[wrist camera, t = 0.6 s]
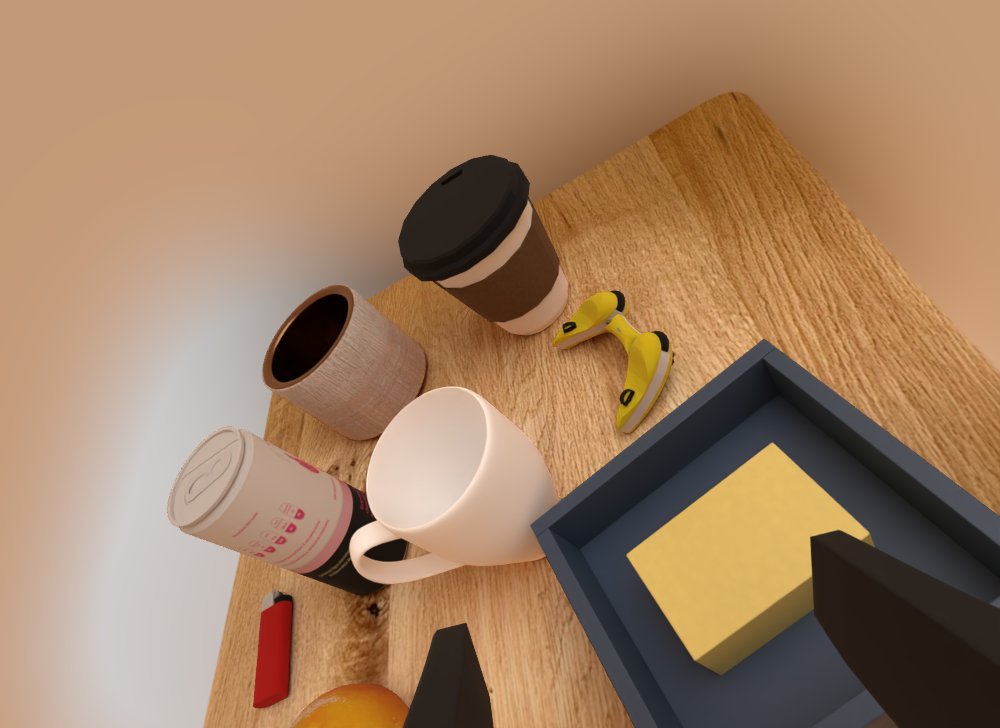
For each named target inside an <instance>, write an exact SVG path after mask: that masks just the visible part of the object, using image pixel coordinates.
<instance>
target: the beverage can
mask: <svg viewBox="0 0 1000 728" xmlns="http://www.w3.org/2000/svg"><path fill="white" fill-rule="evenodd" d="M167 513H168V518H169V520H170V522H171V523H172V524H173V525H175V526H177V527H179V528H180V529H181V531H183V532H184V533H187V534H189V535H192V536H195V537H198V538H200V539H203V540H206V541H209V542H212V543H215V544H218V545H220V546H223V547H226V548H228V549H231V550H234V551H237V552H240V553H242V554H245V555H248V556H251V557H253V558H256V559H259V560H262V561H265V562H267V563H270V564H273V565H276V566H279V567H281V568H284V569H287V570H290V571H292V572H295V573H298V574H301V575H304V576H306V577H309V578H312V579H315V580H318V581H320V582H323V583H326V584H329V585H332V586H334V587H337V588H340V589H343V590H346V591H348V592H351V593H354V594H357V595H369V594H372V593H375V592H377V591H378V590H380V589H381V588H383V587H384V586H385V585H386V584H382V583H377V582H374V581H371V580H369V579H366V578H365V577H363V576H362V575H361V574H360V573H359V572H358V571H357V570H356V568H355V567H354V565H353V562H352V560H351V556H350V548H349V546H350V541H351V538H352V536H353V535H354V533H355V532H356V531H357V530H359V529H360V528H361V527H363V526H365V525H367V524H369V523H372V522H374V521H377V519H376V518H375V517H374V515H373V513H372V511H371V509H370V507H369V503H368V499H367V494H365V493H363V492H361V491H360V490H358V489H356V488H354V487H352V486H350V485H348V484H346V483H344V482H343V481H341V480H339V479H337V478H335V477H333V476H331V475H329V474H328V473H326V472H324V471H322V470H320V469H318V468H316V467H314V466H312V465H311V464H309V463H307V462H305V461H303V460H301V459H299V458H297V457H295V456H294V455H292V454H290V453H288V452H286V451H284V450H282V449H280V448H278V447H277V446H275V445H273V444H271V443H269V442H267V441H265V440H263V439H262V438H260V437H258V436H256V435H254V434H252V433H250V432H248V431H246V430H243V429H236V428H234V427H224V428H221V429H219V430H217V431H215V432H213V433H212V434H211V435H209V436H208V437H207V438H206V439H205V440H203V442H201V443H200V444H199V445H198V447H197V448H196V449H195V450H194V451H193V452H192V454H191V455H190V456H189V458H188V459H187V460H186V462H185V463H184V465H183V467H182V468H181V470H180V472H179V474H178V476H177V478H176V480H175V482H174V484H173V487H172V489H171V492H170V496H169V501H168V508H167ZM407 545H408V541H406V540H404V539H402V538H400V539H396V540H392V541H389V542H385V543H382V544H379V545H377V546H374V547H372V548H370V549H369V550H367V551H366V552H365V553H364V554H363V555H364V556H366V557H368V558H370V559H373V560H376V561H382V562H395V561H402V560H404V557H405V554H406V551H407Z"/></svg>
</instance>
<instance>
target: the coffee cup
mask: <svg viewBox="0 0 1000 728" xmlns="http://www.w3.org/2000/svg"><path fill="white" fill-rule="evenodd" d="M529 184H530V183H529V181H528V179H527V178H526V176H525V174H524V173H523V171H522V169H521V168H520V167H519V165H518V164H516V163H513V162H509V161H508V160H507V159H505V158H501V157H497V156H494V155H488V156H483V157H478V158H473V159H471V160H468V161H467V162H465V163H462V164H461V165H459V166H457V167H455V168H453V169H451V170H450V171H448V172H447V173H446V174H445V175H443V176H442V177H441V178H439V179H438V180H437V181H436V182H434V183H433V184H432V185H431V186H430V187H429V188H428V189H427V190H426V191H425V192H424V194H423V195H422V196H421V197H420V198H419V199H418V200H417V201H416V202H415V204H414V206H413V207H412V209H411V211H410V212H409V214H408V215H407V217H406V219H405V220H404V223H403V226H402V230H401V233H400V236H399V241H398V242H399V247H400V252H401V256H402V257H403V262H404V267H405V268H406V269H407V270H408V271H409V272H410V273H411V274H413V275H414V276H415V277H417V278H418V279H419V280H421V281H433V282H434V283H436V284H437V285H438V286H440V287H441V288H443V289H444V290H446V291H447V292H448V293H450V294H451V295H453V296H454V297H455V298H457V299H458V300H460V301H461V302H463V303H464V304H465V305H467V306H468V307H470V308H471V309H473V310H474V311H475V312H477V313H478V314H480V315H481V316H483V317H484V318H485V319H487V320H488V321H490V322H495V323H496V324H498V325H499V326H501V327H502V328H503V329H505V330H506V331H508V332H509V333H512V334H517V335H532V334H535V333H538V332H541V331H543V330H544V329H546V328H547V327H549V326H550V325H552V324H553V323H554V322H555V321H556V319H557V318H558V317H559V316H560V315H561V314H562V312H563V310H564V308H565V306H566V304H567V302H568V282H567V280H566V278H565V275H564V273H563V271H562V269H561V267H560V265H559V262H560V260H559V258H558V256H557V254H556V252H555V249H554V247H553V245H552V243H551V241H550V239H549V237H548V235H547V233H546V231H545V229H544V227H543V224H542V222H541V220H540V218H539V216H538V214H537V212H536V210H535V208H534V206H533V204H532V203H531V201H530V199H529V197H528V194H529Z"/></svg>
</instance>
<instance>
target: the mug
mask: <svg viewBox="0 0 1000 728" xmlns="http://www.w3.org/2000/svg"><path fill="white" fill-rule="evenodd" d="M366 493H367V499H368V503H369V507H370V509H371V511H372V513H373V515H374V517H375V518H376V519H377V521H374V522H372V523H369V524H367V525H365V526H363V527H361V528H360V529H359V530H357V531H356V532H355V533H354V535H353V536H352V538H351V541H350V546H349V548H350V556H351V560H352V562H353V565H354V567H355V568H356V570H357V571H358V572H359V573H360V574H361V575H362V576H363V577H365V578H366V579H369V580H371V581H374V582H377V583H382V584H400V583H406V582H411V581H416V580H419V579H423V578H427V577H430V576H433V575H437V574H440V573H443V572H446V571H449V570H452V569H455V568H458V567H461V566H464V565H473V566H495V565H504V564H512V563H520V562H528V561H535V560H539V559H541V558H544V557H545V556H546V555H545V554H544V552H543V550H542V548H541V546H540V544H539V542H538V540H537V537H536V536H535V534H534V532H533V530H532V528H531V526H530V525H531V524H532V523H533V522H534V521H536V520H537V519H538V518H539V517H541V516H542V515H543V514H545V513H546V512H547V511H548V510H550V509H551V508H552V507H553V506H555V505H556V504H557V503H558V502H560V501H559V498H558V495H557V492H556V489H555V486H554V483H553V480H552V477H551V475H550V472H549V470H548V467H547V465H546V463H545V461H544V459H543V457H542V455H541V454H540V452H539V451H538V449H537V448H536V446H535V445H534V444H533V443H532V441H531V440H530V439H529V438H528V437H527V436H526V435H525V434H524V433H523V432H522V431H521V430H520V429H519V428H518V427H517V426H516V425H515V424H513V423H512V422H511V421H510V420H509V419H508V418H506V417H505V416H504V415H503V414H502V413H501V412H499V411H498V410H497V409H496V408H495V407H494V406H492V405H491V404H490V403H489V402H488V401H486V400H485V399H484V398H483V397H481V396H480V395H478V394H477V393H475V392H473V391H471V390H468V389H466V388H462V387H442V388H438V389H435V390H432V391H429V392H427V393H425V394H423V395H421V396H419V397H418V398H416V399H415V400H413V401H412V402H410V403H409V404H408V405H407V406H406V407H404V408H403V409H402V410H401V411H400V412H399V413H398V414H397V415H396V416H395V417H394V419H393V420H392V421H391V422H390V424H389V425H388V426H387V428H386V429H385V431H384V432H383V434H382V435H381V437H380V439H379V441H378V443H377V445H376V447H375V449H374V451H373V454H372V457H371V460H370V463H369V467H368V472H367V480H366ZM400 538H402V539H404V540H406V541H408V542H410V543H412V544H414V545H416V546H418V547H420V548H422V549H424V550H426V551H428V552H430V554H427V555H423V556H419V557H416V558H412V559H407V560H402V561H395V562H382V561H376V560H373V559H370V558H368V557H366V556H364V555H363V554H364V553H365V552H366V551H367V550H369V549H370V548H372V547H374V546H377V545H379V544H382V543H385V542H389V541H392V540H396V539H400Z"/></svg>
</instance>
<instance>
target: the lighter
mask: <svg viewBox="0 0 1000 728" xmlns="http://www.w3.org/2000/svg"><path fill="white" fill-rule="evenodd" d="M291 619H292V596H290V595H286V593H283V592H282V593H281V592H279V591H277V590H274V591H272V592H270V593H268V594H267V595H265V596H264V597H263V598H262V609H261V621H260V632H259V644H258V656H257V668H256V679H255V691H254V703H253V707H255V708H265V707H268V706H271V705H273V704H275V703H277V702H278V701H280V700H282V699H284V698H286V697H287V696H288V683H289V662H290V641H291Z"/></svg>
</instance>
